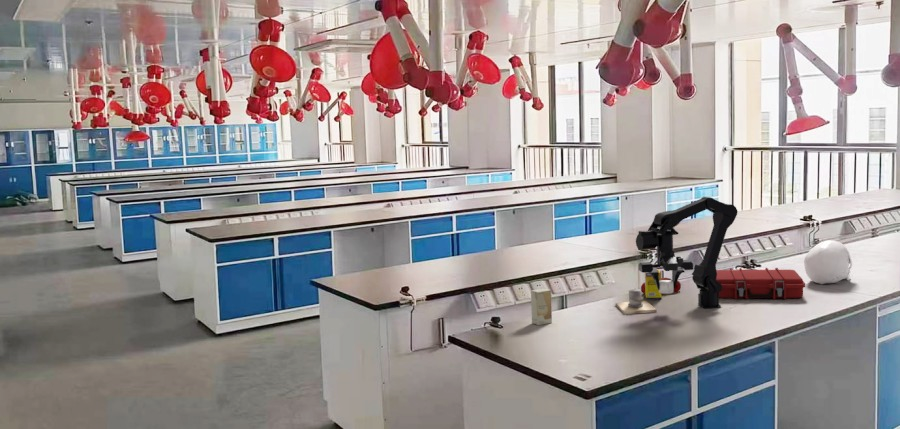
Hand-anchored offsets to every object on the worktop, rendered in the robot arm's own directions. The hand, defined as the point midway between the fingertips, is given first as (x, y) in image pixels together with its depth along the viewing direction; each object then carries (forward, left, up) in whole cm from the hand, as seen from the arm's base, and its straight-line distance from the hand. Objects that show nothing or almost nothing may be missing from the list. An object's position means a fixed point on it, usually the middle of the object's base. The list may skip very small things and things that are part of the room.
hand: (666, 289), depth 270 cm
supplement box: (-1, -22, -9) cm, 24 cm away
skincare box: (+47, +5, -9) cm, 48 cm away
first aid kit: (-41, -19, -9) cm, 47 cm away
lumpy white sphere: (-77, -32, -9) cm, 84 cm away
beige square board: (+10, -7, -9) cm, 15 cm away
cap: (0, 0, -1) cm, 1 cm away
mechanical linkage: (-6, -31, -9) cm, 33 cm away
